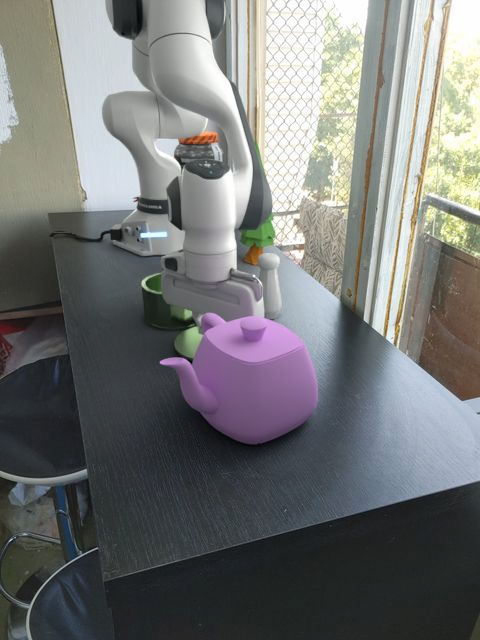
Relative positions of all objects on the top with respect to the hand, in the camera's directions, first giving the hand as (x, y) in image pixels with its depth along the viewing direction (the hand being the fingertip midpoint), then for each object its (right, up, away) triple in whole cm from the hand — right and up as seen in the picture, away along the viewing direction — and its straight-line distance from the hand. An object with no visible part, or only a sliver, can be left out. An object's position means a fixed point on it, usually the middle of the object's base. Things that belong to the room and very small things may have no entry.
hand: (212, 336), depth 94 cm
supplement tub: (-11, +42, +80) cm, 91 cm away
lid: (0, -1, +1) cm, 2 cm away
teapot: (+7, -12, -17) cm, 22 cm away
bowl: (-8, +4, +12) cm, 15 cm away
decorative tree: (+8, +21, +42) cm, 48 cm away
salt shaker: (+10, +4, +13) cm, 17 cm away
